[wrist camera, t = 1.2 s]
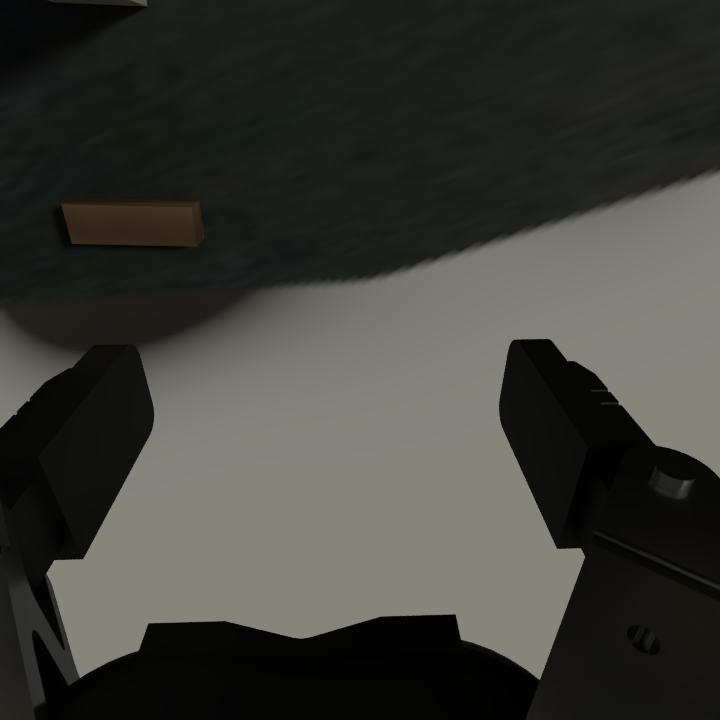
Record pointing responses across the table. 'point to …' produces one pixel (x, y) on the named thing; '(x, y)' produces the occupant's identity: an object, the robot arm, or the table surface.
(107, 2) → the domino
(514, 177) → the table surface
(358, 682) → the robot arm
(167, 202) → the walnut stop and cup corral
